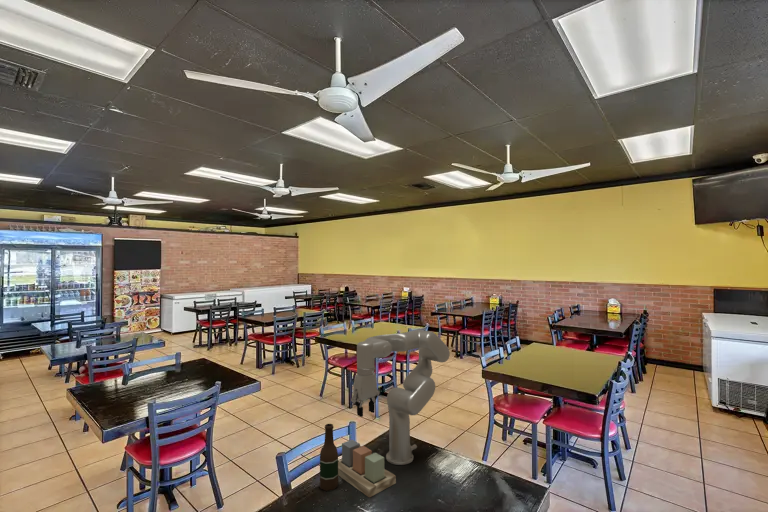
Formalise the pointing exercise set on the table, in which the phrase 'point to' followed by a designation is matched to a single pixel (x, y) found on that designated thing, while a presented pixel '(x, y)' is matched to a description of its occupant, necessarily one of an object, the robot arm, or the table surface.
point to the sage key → (374, 467)
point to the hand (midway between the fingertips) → (365, 413)
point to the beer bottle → (328, 461)
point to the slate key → (349, 452)
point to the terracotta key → (360, 459)
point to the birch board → (365, 480)
